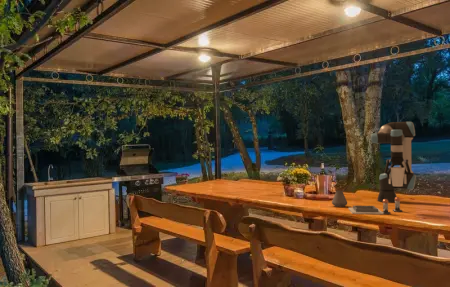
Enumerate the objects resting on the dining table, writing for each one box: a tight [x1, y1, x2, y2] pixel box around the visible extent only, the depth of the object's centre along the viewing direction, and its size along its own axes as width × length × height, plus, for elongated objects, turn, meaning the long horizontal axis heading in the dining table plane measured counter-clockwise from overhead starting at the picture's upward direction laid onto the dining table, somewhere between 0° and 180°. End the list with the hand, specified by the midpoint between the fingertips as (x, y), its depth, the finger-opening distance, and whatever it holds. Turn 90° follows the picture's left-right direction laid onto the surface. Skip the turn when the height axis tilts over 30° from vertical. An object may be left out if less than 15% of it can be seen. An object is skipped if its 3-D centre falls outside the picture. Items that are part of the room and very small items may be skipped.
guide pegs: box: [382, 196, 403, 216], centre depth 258 cm, size 6×20×10 cm, turn 124°
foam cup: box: [389, 166, 405, 187], centre depth 262 cm, size 10×9×13 cm
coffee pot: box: [331, 184, 351, 208], centre depth 291 cm, size 21×12×15 cm, turn 134°
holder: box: [347, 205, 385, 215], centre depth 263 cm, size 20×20×3 cm
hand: (397, 183), depth 262 cm, fingers closed on foam cup, 9 cm apart
